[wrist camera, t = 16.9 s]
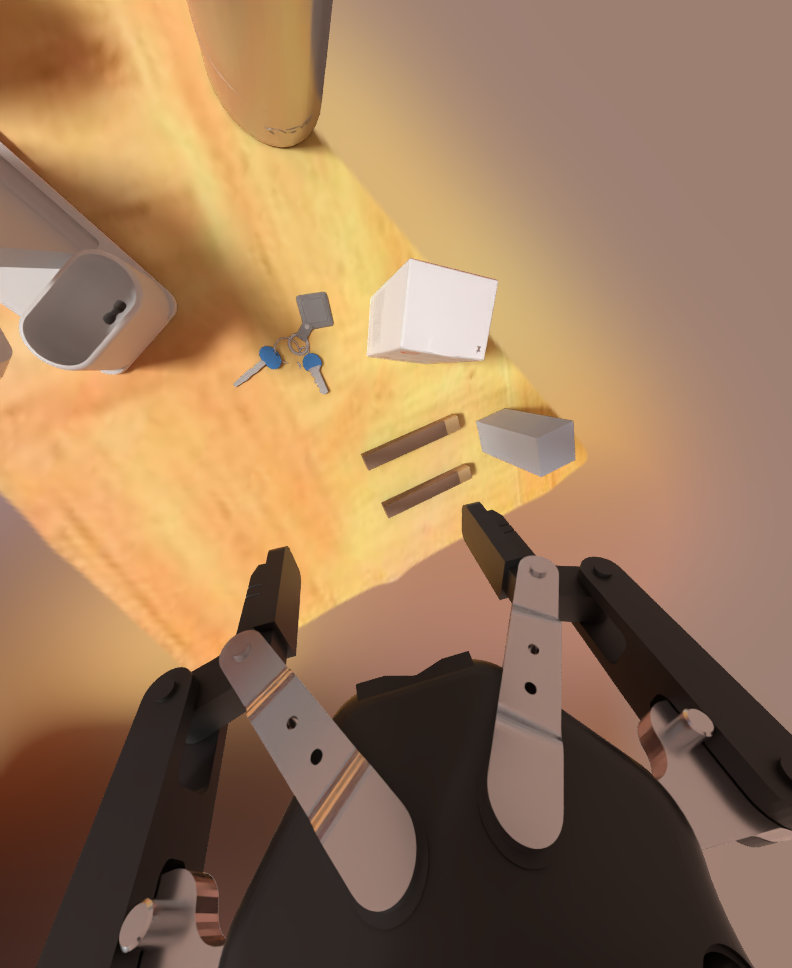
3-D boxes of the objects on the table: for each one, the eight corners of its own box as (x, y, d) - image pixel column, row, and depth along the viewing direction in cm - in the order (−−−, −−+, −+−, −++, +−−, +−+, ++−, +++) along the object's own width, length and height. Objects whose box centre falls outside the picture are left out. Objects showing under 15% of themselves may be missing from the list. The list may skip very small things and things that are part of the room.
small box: (433, 308, 35) (501, 279, 24) (426, 364, 38) (485, 362, 26) (368, 295, 33) (409, 255, 21) (364, 356, 35) (400, 350, 23)
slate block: (476, 421, 43) (536, 438, 32) (504, 408, 43) (573, 420, 33) (482, 451, 45) (541, 477, 34) (509, 438, 46) (575, 459, 35)
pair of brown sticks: (360, 454, 39) (363, 457, 38) (452, 414, 41) (457, 415, 40) (385, 513, 43) (388, 518, 42) (466, 474, 45) (472, 477, 44)
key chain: (310, 278, 31) (311, 276, 30) (368, 338, 35) (370, 337, 34) (232, 383, 32) (230, 384, 31) (297, 430, 36) (297, 431, 35)
